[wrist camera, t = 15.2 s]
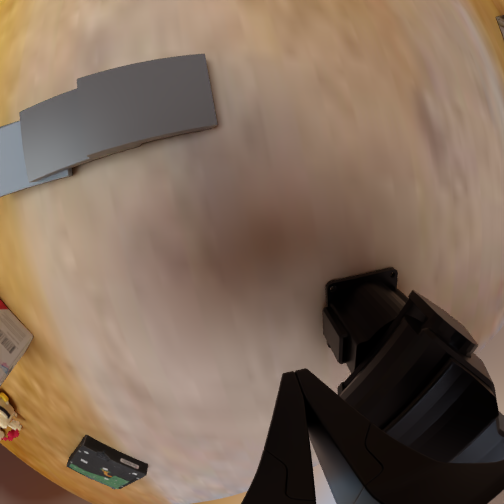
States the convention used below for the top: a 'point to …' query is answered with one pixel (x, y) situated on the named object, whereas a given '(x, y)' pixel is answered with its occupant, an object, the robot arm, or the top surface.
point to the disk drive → (105, 464)
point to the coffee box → (501, 23)
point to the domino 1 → (17, 162)
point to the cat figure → (8, 419)
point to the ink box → (11, 341)
